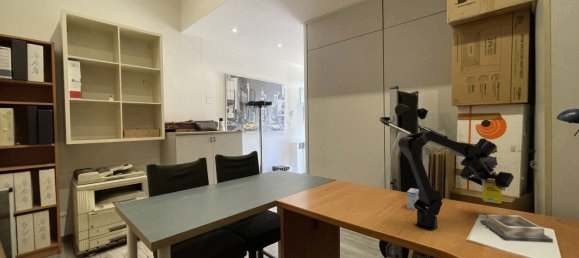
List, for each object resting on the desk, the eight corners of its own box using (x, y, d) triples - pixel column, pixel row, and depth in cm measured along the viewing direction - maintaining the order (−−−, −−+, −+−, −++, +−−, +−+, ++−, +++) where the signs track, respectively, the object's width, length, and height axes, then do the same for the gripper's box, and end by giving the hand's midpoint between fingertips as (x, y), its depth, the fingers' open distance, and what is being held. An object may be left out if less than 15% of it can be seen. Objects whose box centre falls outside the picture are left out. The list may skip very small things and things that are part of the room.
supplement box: (501, 205, 104) (501, 180, 103) (484, 203, 107) (484, 179, 107) (498, 201, 109) (498, 177, 109) (481, 199, 112) (481, 176, 112)
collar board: (504, 240, 88) (504, 228, 88) (480, 222, 103) (479, 213, 103) (552, 242, 85) (552, 230, 85) (520, 224, 100) (520, 214, 100)
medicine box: (410, 204, 128) (410, 187, 128) (419, 205, 125) (419, 189, 125) (406, 208, 122) (406, 191, 122) (416, 210, 119) (416, 193, 119)
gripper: (511, 153, 97) (527, 177, 101) (463, 149, 115) (479, 169, 119) (498, 175, 95) (515, 199, 99) (452, 167, 112) (468, 187, 116)
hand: (493, 187), depth 108 cm, fingers closed on supplement box, 8 cm apart
